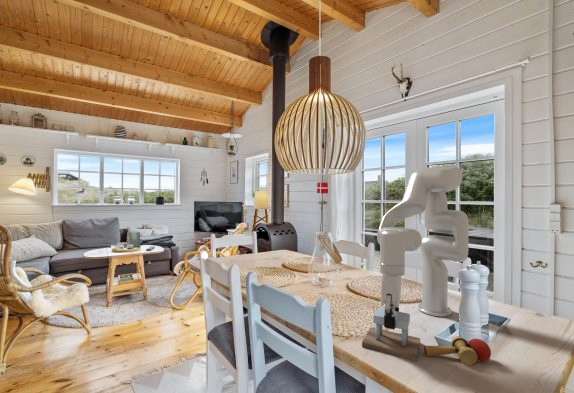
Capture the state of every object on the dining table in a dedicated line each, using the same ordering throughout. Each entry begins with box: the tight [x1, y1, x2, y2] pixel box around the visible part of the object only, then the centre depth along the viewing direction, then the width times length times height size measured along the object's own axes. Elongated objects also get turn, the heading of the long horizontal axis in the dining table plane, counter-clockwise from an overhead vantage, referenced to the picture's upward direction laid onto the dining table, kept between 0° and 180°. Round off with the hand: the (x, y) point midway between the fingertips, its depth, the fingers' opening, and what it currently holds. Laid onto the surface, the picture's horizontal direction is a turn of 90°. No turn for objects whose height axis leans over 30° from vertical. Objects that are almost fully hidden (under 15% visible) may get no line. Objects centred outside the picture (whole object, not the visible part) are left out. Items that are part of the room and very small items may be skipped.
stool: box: [373, 307, 411, 346], centre depth 94 cm, size 10×7×8 cm
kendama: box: [423, 336, 492, 365], centre depth 86 cm, size 8×6×18 cm
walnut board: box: [361, 326, 421, 362], centre depth 94 cm, size 12×16×2 cm
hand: (391, 322), depth 94 cm, fingers open, 7 cm apart
